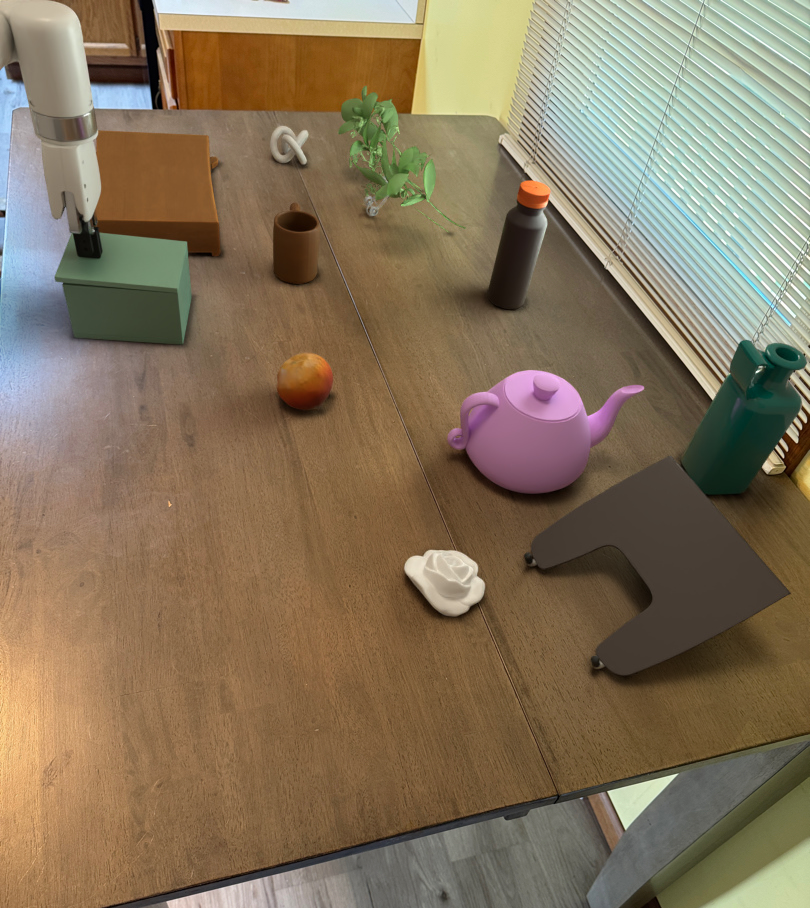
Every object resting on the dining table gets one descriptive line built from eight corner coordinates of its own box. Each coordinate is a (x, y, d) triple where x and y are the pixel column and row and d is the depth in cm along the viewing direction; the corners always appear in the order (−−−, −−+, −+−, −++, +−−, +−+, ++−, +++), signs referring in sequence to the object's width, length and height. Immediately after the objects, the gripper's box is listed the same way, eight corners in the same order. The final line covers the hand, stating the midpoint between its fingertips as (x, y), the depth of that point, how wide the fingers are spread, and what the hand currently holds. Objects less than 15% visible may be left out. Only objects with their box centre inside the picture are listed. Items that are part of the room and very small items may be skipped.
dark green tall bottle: (725, 454, 117) (801, 331, 100) (750, 495, 111) (835, 373, 95) (666, 455, 115) (734, 330, 98) (689, 497, 109) (765, 373, 93)
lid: (55, 282, 106) (54, 276, 106) (73, 234, 114) (72, 229, 114) (177, 293, 109) (177, 288, 108) (187, 246, 117) (187, 241, 116)
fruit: (337, 417, 108) (311, 371, 103) (290, 428, 111) (262, 384, 106) (350, 382, 113) (325, 337, 108) (304, 394, 116) (278, 350, 111)
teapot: (454, 503, 102) (475, 425, 92) (433, 414, 113) (450, 336, 103) (628, 502, 107) (667, 428, 97) (592, 416, 118) (623, 342, 108)
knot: (268, 166, 156) (268, 136, 151) (272, 148, 161) (272, 119, 156) (305, 171, 157) (306, 141, 152) (308, 153, 162) (309, 124, 157)
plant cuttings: (382, 201, 167) (303, 137, 151) (436, 136, 159) (360, 62, 144) (435, 293, 146) (350, 230, 131) (500, 224, 139) (419, 148, 124)
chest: (74, 337, 113) (61, 284, 107) (90, 289, 121) (79, 237, 115) (183, 345, 116) (177, 293, 109) (191, 297, 124) (187, 246, 117)
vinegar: (497, 312, 133) (527, 199, 118) (480, 290, 137) (506, 178, 121) (531, 307, 135) (564, 196, 120) (512, 286, 139) (542, 176, 124)
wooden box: (78, 219, 123) (87, 121, 144) (86, 256, 127) (93, 156, 149) (228, 222, 128) (216, 127, 149) (230, 257, 133) (217, 161, 154)
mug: (271, 246, 137) (272, 194, 130) (314, 248, 138) (317, 197, 131) (273, 284, 129) (273, 231, 122) (318, 286, 131) (321, 234, 123)
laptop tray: (521, 566, 104) (509, 534, 97) (670, 483, 104) (670, 444, 96) (614, 712, 92) (609, 688, 84) (784, 618, 91) (794, 585, 84)
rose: (398, 582, 87) (416, 521, 93) (393, 605, 90) (411, 544, 97) (483, 605, 87) (496, 542, 93) (475, 627, 90) (488, 565, 96)
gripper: (46, 93, 101) (73, 226, 115) (18, 143, 91) (51, 282, 105) (106, 99, 102) (125, 230, 116) (84, 150, 92) (108, 286, 106)
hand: (90, 254), depth 110 cm, fingers closed
